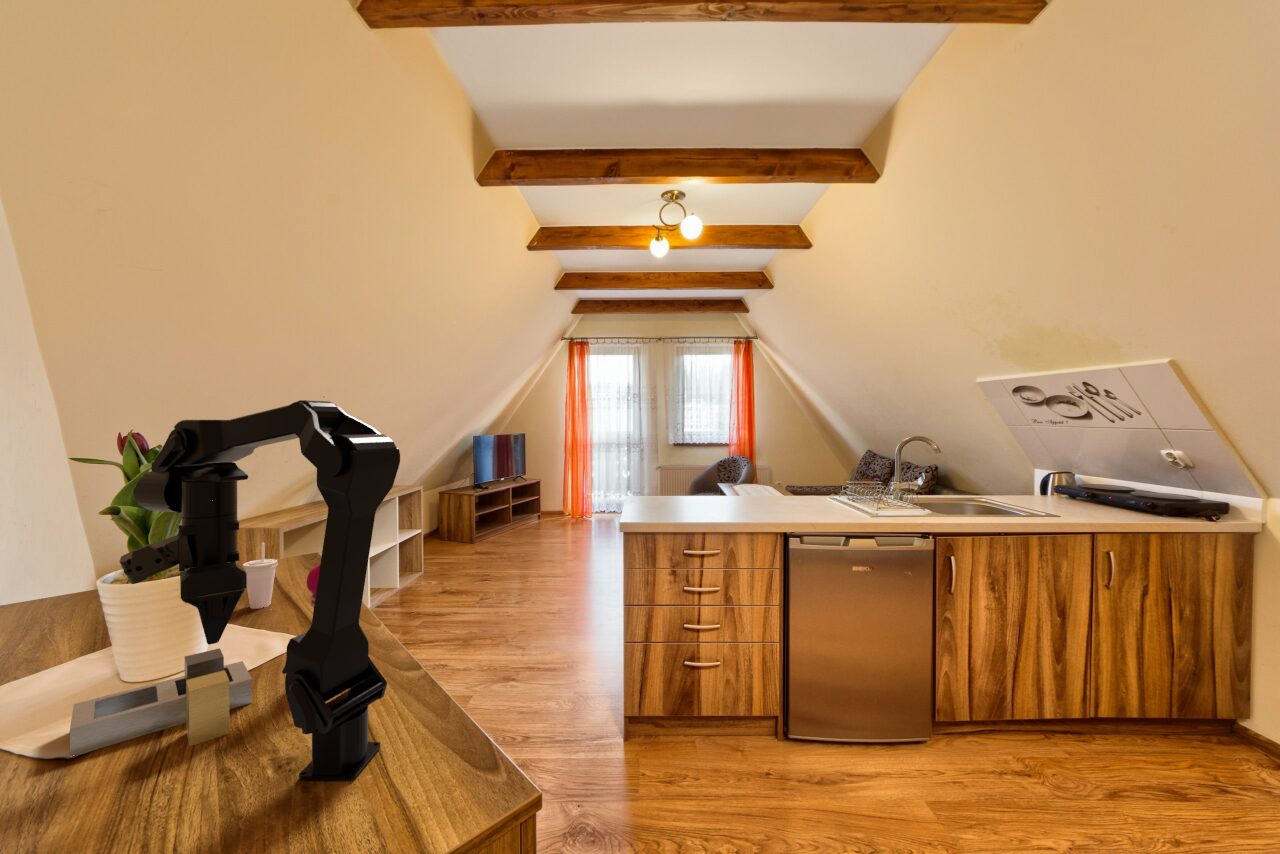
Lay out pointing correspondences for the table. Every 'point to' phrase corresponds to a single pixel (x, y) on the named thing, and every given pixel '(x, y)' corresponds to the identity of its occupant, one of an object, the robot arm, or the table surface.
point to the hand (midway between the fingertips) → (210, 632)
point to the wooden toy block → (207, 707)
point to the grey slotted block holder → (150, 705)
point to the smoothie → (260, 580)
